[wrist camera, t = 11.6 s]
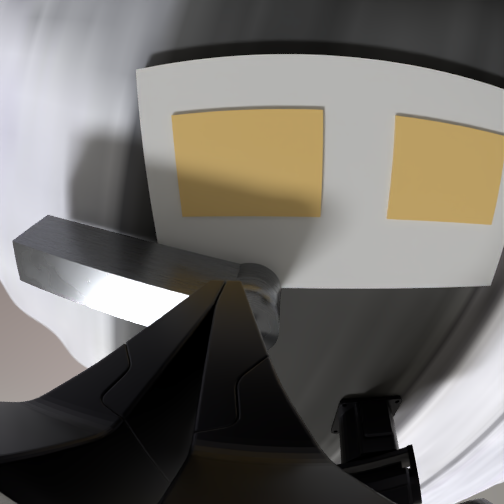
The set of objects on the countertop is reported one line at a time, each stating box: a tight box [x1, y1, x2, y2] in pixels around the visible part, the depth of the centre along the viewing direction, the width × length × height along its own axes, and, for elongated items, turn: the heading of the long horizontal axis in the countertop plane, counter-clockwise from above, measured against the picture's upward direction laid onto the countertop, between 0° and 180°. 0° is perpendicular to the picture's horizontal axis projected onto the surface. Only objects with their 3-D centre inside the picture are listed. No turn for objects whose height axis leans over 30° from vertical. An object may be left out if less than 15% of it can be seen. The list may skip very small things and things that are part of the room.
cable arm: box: [13, 215, 281, 350], centre depth 18 cm, size 17×4×4 cm, turn 78°
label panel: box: [136, 54, 504, 288], centre depth 17 cm, size 15×24×2 cm, turn 92°
